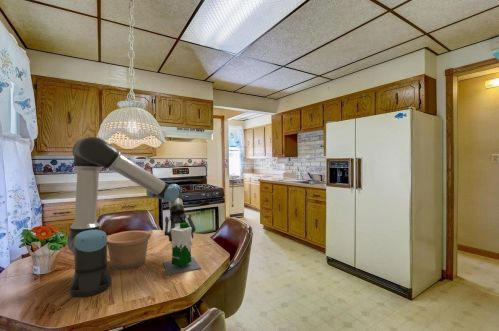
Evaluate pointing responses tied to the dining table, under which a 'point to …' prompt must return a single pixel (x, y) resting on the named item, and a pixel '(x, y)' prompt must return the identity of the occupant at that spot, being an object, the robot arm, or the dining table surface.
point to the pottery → (127, 249)
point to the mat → (177, 269)
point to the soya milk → (181, 244)
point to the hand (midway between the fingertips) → (182, 245)
